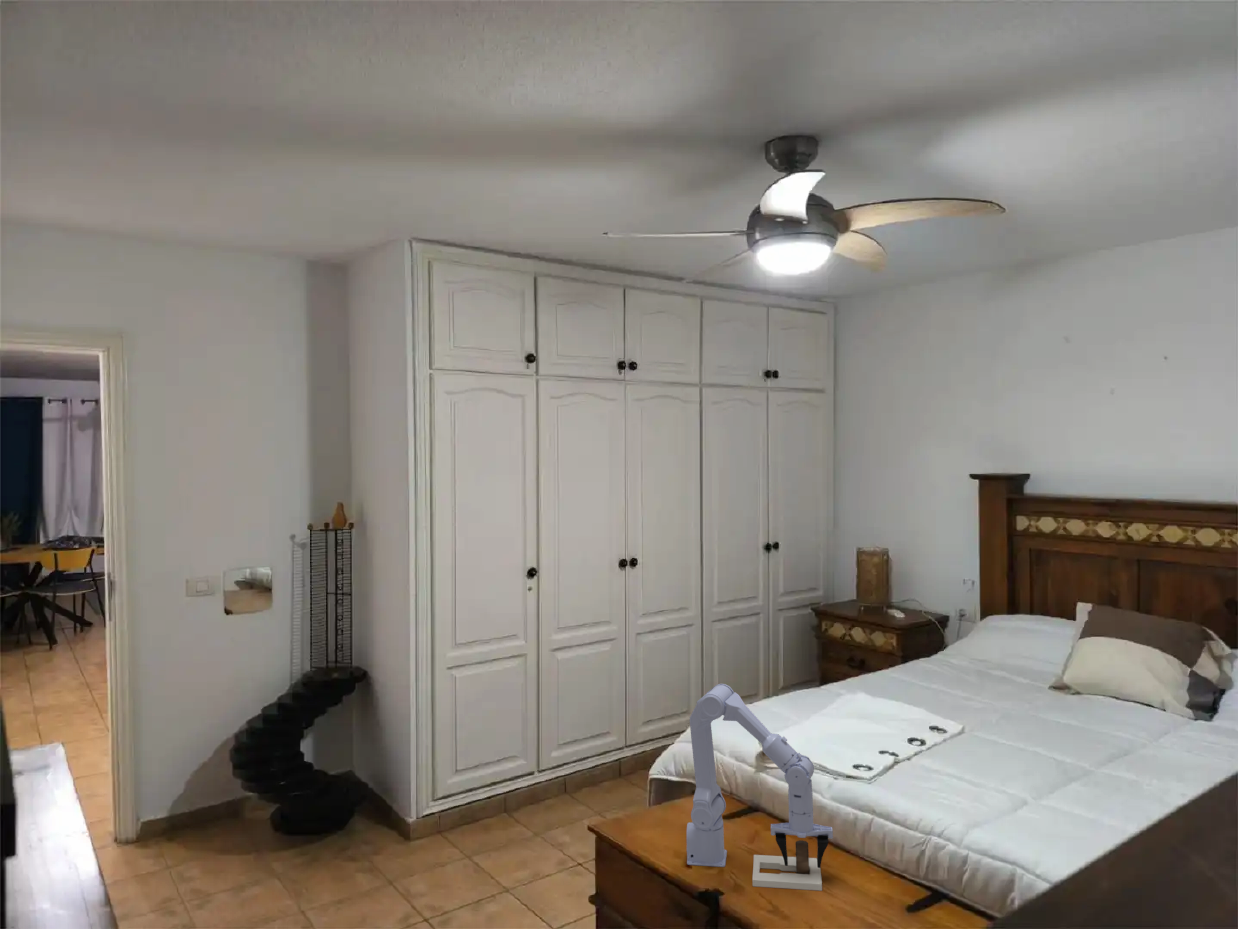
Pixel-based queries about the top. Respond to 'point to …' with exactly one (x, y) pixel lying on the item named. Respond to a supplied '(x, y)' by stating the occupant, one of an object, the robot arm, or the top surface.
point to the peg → (802, 857)
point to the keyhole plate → (785, 874)
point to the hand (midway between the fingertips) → (802, 864)
